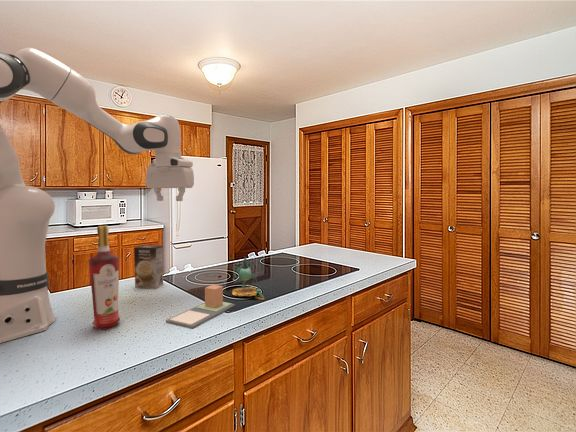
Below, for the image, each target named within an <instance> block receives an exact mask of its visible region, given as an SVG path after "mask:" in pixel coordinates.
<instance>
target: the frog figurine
mask: <svg viewBox="0 0 576 432" xmlns="http://www.w3.org/2000/svg"><path fill="white" fill-rule="evenodd" d="M247 259H248V258H247V257H244V258H243V265H242V266H241V267H240V265H239V264H238V265H237V266H236V272H235V273H234V277H235V278H236V279H235V278H232V281H233V282H234V281H235V280H236V281H237V280H238V279H240V280H242V283H241V288H240V287H239V288H234V289H232V292H231V294H232V295H233V296H235V297H252V296H254V299H256V300H257V299H258V300H259V301H265V299H266V298H265V297H264V295H263V292H262V290H261V287H260V285H257V288H256V287H252V286H250V284H249V283H246V282H247V281H249V280H250V279H251V278H252V277H253V279H252V282H251V283H252V284H254V280H255V283H256V284H257V283H258V281H257V277H256V274H253V273H252V270H251V267H252V265H251V264H250V263H247ZM236 273H237V274H238V275H237V274H236ZM236 275H237V276H236Z"/></svg>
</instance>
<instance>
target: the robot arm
mask: <svg viewBox="0 0 576 432" xmlns="http://www.w3.org/2000/svg"><path fill="white" fill-rule="evenodd" d="M21 90H24V91H30V92H32V93H35V94H38V95H40V96H41V97H42V98H44V99H46V100H47V101H49V102H51V103H53V104H54V105H55V106H58V107H60V108H61V109H63V110H64V111H67V112H68V113H71V114H73V115H74V116H76V117H77V118H80V119H81V120H83V121H84V122H86V123H87V124H89V125H91V126H92V127H93V128H94V129H96V130H98V132H99V131H100V132H101V133H102V134H104V135H106V136H107V137H109V138H110V139H111V140H112V141H113V142H114V143H115V144H116V146H117V147H118V148H119V149H120V150H121V151H123V152H124V153H126V154H129V155H138V154H141V153H143V152H148V151H152V150H153V151H154V155H155V156H154V157H155V162H154V163H153V162H151V163H150V164H149V165H148V166H147V171H146V175H145V186H146V188H147V189H153V192H154V194H155V196H156V201H157V202H161V201H164V195H162V189H177V192H178V194H177V196H175V201H176V202H183V199H184V198H183V196H184V195H185V192H186V189H192V188H193V187H194V184H195V176H194V175H195V174H194V170H193V165H194V163H193V161H192V160H189V159H186V158H184V157H182V152H181V144H182V135H181V126H180V123H179V120H178V119H177V118H175V117H174V116H171V115H168V114H158V115H156V116H155V117H153V118H150V119H147V120H141V121H138V122H134V123H132V124H127V123H126V124H125V123H123V122H121V121H119V120H118V119H117V118H115V117H114V116H112V115H111V114H110V113H108V112H107V111H105V110H104V109H102V107H100V105H99V104H98V103H97V100H96V97H97V96H96V93H95V92H96V90H95V88H94V87H93V85H92V83H90V82H89V81H88V80H87V79H86V78H85V77H84V76H83V75H81V74H79V72H77V71H75V69H73V68H71V67H69V66H68V65H66V64H65V63H63V62H62V61H60V60H58V59H57V58H55V57H52V56H51V55H48V54H47V53H46V52H43V51H41V50H39V49H37V48H34V47H24V48H22V49H19V50H18V51H17V52H15V53H14V54H12V53H7V52H0V104H1V103H4V102H6V101H7V100H10V99H11V98H13V97H15V95H16V94H17V93H18V92H19V91H21ZM55 208H56V206H55V202H54V199H53V198H52V196H51V195H50V194H48V192H47V191H44V190H42V189H41V188H38V187H35V186H32V185H26V183H25V180H24V178H23V175H22V171H21V167H20V158H19V156H18V154H17V152H16V150H15V149H14V147H13V145H12V143H11V141H10V139H9V137H8V136H7V134H6V131H5V130H4V128H3V127H2V124H0V344H1V343H5V342H8V341H9V342H10V341H13V340H15V339H19V338H23V337H26V336H27V337H28V336H31V335H34V334H37V333H42V332H44V331H46V330H48V328H49V327H50V325H51V324H53V323H54V322H55V321H56V319H57V318H56V316H55V314H54V311H53V309H52V305H51V302H50V296H49V295H50V294H49V288H50V285H49V284H50V283H49V282H50V281H49V272H47V267H46V266H47V265H46V263H47V262H46V260H47V259H46V243H47V236H48V230H49V224H50V219H51V218H52V216H53V215H54V214H55V213H54V212H55Z"/></svg>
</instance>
